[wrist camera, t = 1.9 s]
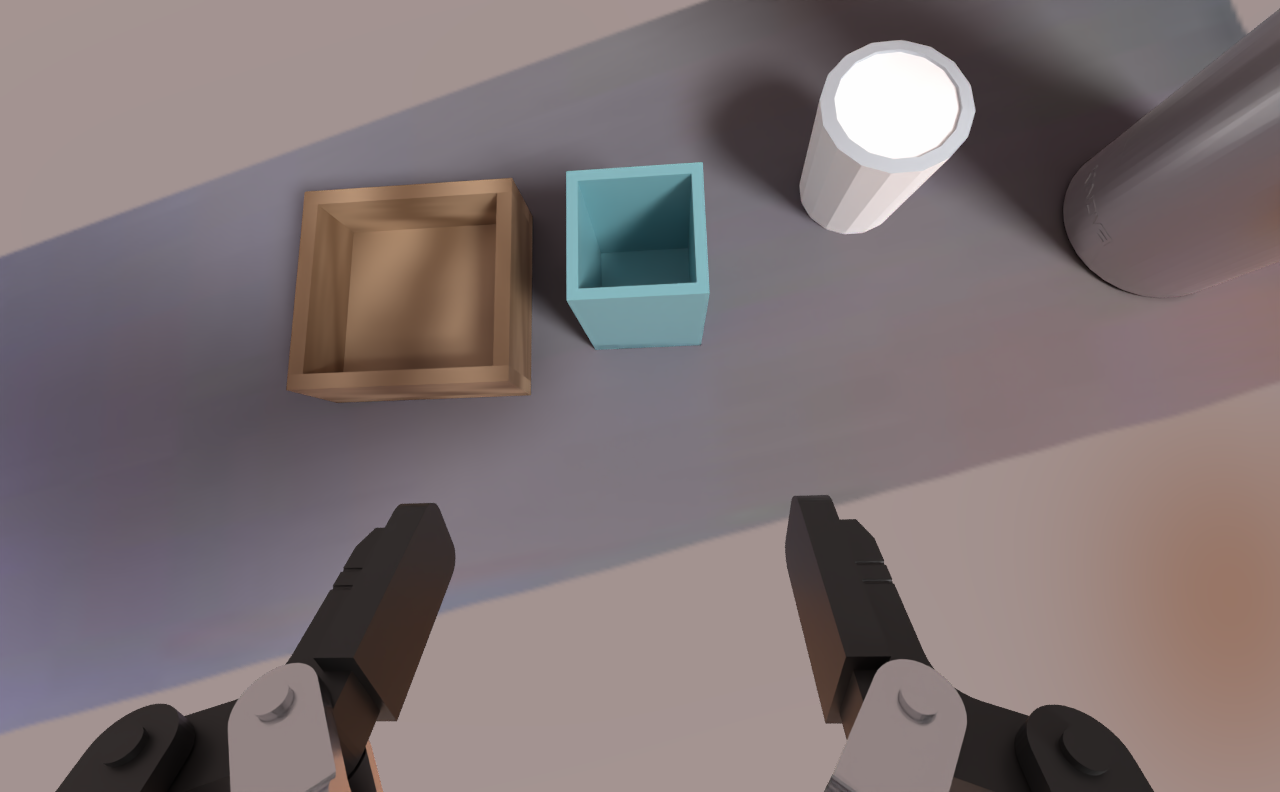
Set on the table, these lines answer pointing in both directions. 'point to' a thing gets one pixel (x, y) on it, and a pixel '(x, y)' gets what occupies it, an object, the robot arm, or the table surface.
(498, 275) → the walnut crate
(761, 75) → the table surface
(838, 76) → the white cylinder
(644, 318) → the teal crate
